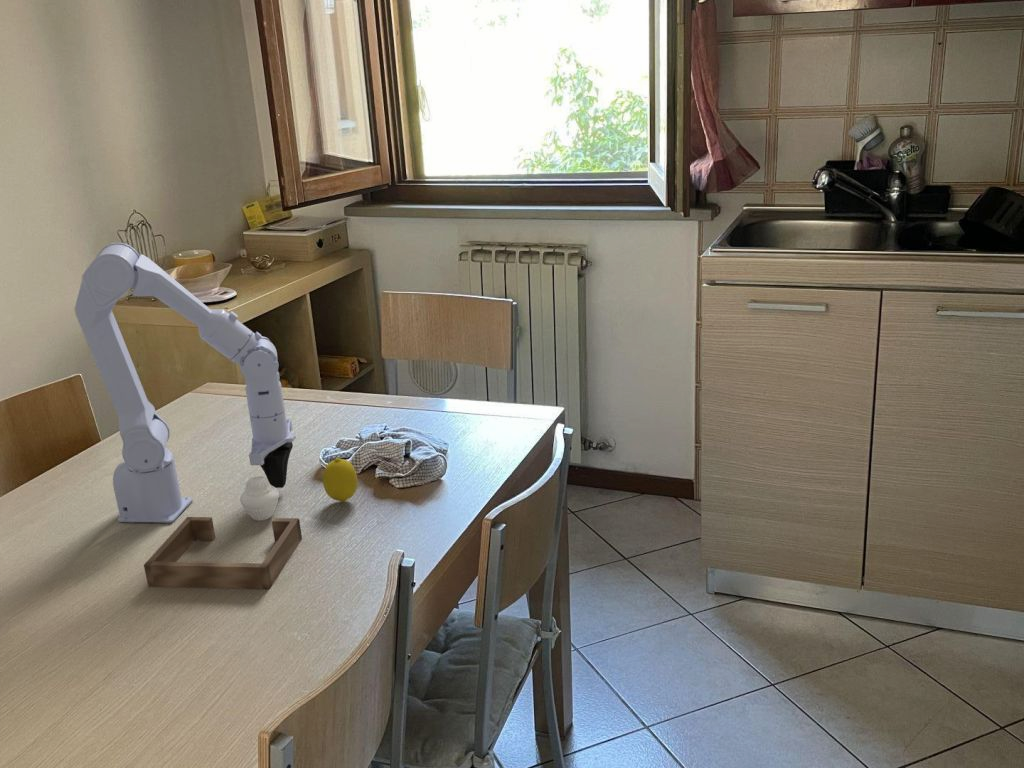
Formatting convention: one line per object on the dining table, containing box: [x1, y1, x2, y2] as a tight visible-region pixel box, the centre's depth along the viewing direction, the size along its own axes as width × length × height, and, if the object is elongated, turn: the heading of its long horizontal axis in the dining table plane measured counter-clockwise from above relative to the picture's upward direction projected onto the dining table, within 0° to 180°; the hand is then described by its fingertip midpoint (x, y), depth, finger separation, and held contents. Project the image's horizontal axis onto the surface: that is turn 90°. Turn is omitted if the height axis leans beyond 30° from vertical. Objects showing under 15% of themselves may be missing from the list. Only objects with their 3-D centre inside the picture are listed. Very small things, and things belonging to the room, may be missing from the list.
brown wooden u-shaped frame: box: [143, 516, 303, 590], centre depth 138 cm, size 18×14×4 cm
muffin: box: [239, 476, 280, 522], centre depth 150 cm, size 6×6×7 cm
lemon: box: [322, 457, 358, 504], centre depth 153 cm, size 6×6×8 cm
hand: (278, 485), depth 158 cm, fingers closed
